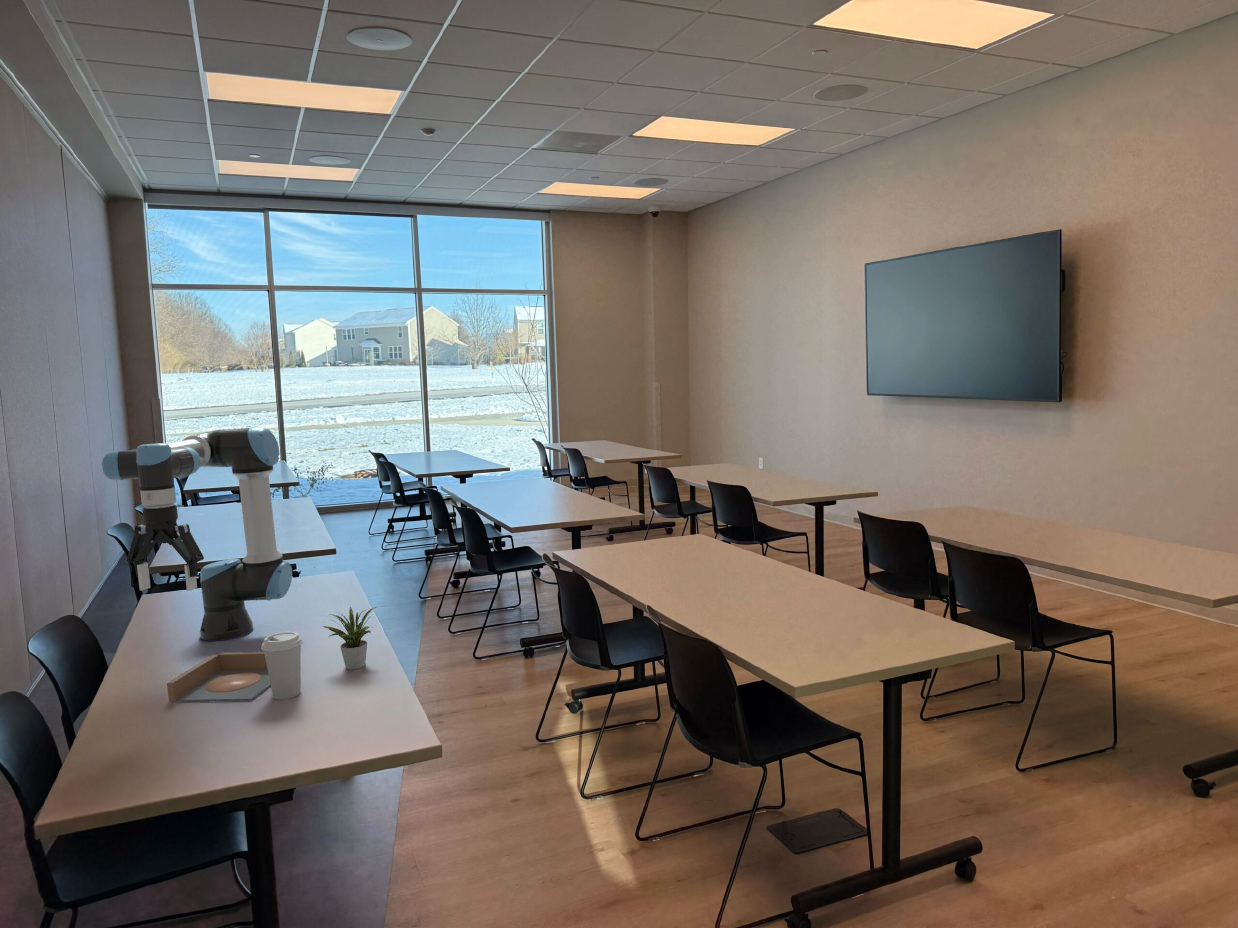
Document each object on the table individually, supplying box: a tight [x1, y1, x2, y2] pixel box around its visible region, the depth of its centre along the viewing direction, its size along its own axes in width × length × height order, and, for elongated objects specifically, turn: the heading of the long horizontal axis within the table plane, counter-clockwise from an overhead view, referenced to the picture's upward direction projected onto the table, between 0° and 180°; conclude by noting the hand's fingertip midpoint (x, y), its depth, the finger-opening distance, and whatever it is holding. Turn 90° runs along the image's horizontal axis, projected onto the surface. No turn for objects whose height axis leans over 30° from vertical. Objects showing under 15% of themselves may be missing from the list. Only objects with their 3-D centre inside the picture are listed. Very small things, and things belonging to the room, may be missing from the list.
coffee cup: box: [261, 631, 303, 701], centre depth 204 cm, size 10×10×15 cm
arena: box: [166, 651, 271, 703], centre depth 213 cm, size 22×22×5 cm
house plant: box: [322, 606, 377, 670], centre depth 223 cm, size 14×14×16 cm
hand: (168, 589), depth 205 cm, fingers open, 13 cm apart
